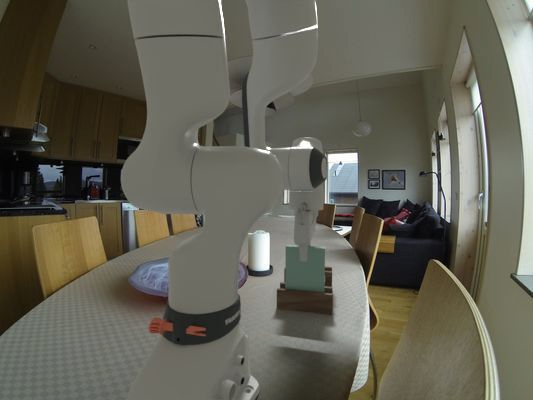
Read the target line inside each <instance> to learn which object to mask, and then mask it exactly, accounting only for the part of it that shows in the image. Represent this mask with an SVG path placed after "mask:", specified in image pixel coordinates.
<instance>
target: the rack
mask: <svg viewBox="0 0 533 400" xmlns="http://www.w3.org/2000/svg"><path fill="white" fill-rule="evenodd" d="M283 273H284V275H283V281H281V282H279V287H277V288H276V310H284V311H291V312H292V311H293V312H301V313H307V314H308V313H310V314H317V315H326V316H333V305H334V303H333V300H334V297H333V296H334V293H333V267H332V266H326V265H325V286H324V293H322V292H312V291H302V290H292V289H285V267H284V269H283Z"/></svg>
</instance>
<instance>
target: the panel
mask: <svg viewBox="0 0 533 400" xmlns="http://www.w3.org/2000/svg"><path fill="white" fill-rule="evenodd" d="M307 253H308V259H307V261H300V253H299V245H295V244H286V245H285V267H284V268H285V289H292V290H302V291H312V292H322V293H324V286H325V266H326V246H314V245H313V246H312V245H310V246H308V252H307Z"/></svg>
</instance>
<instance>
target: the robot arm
mask: <svg viewBox="0 0 533 400" xmlns="http://www.w3.org/2000/svg"><path fill="white" fill-rule="evenodd" d="M126 1H127V9H128V13H129V21H130V25H131V31H132V35H133V40H134V43H135V48H136V52H137V57H138V62H139V66H140V70H141V71H140V72H141V76H142V77H141V78H142V82H143V83H142V84H143V88H144V94H145V95H144V96H145V101H146V122H145V123H146V124H145V129H144V132H143V136H142V139H141V141H140V143H139V145H138V146H137V147H136V149H134V151H133V152H132V153H131V154H130V155H129V156H128V157H127V158H126V160H125V161H124V164H123V166H122V170H121V173H120V184H121V189H122V192H123V194H124V196H125V198H126V200H127V201H128V202H129V203H130V205H132V206H133V207H134V208H137V209H140V210H145V211H149V212H151V213H152V212H153V213H158V214H161V215H162V214H163V215H201V216H203V217H204V219H203V225H202V228H201V231H200V232H199V233H196V234H194V235H191V236H190V237H188V238H187V239H184V240H183V241H181V242H180V243H178V244H177V245H176V246H175V247H174V248H173V250H172V251H171V253H170V255H169V257H168V268H167V269H168V271H167V272H168V274H167V275H168V278H167V279H168V283H167V284H168V286H167V287H168V299H167V301H166V304H165V307H164V310H163V314H162V318H159V317H154V318H152V319H151V321H150V323H149V325H148V332H149V333H150V334H159V336H158V339H157V340H156V342H155V344H154V346H152V349H151V351H150V353H149V355H148V356H147V358H146V360H145V362H144V363H143V364H142V366H141V369H140V371H139V372H138V374H137V376H136V378H135V379H134V381H133V383H132V384H131V387H130V389H129V391H128V394H127V398H126V400H256V398H257V396H259V393H260V384H259V382H258V380H257V379H256V378H255V377H254V376H253V375H252V374H251V353H250V340H249V336H248V335H247V333H246V332H245V330H244V328H243V327H242V325H241V322H240V321H241V317H242V315H241V313H242V302H241V295H240V294H239V271H240V260H241V259H240V258H241V253H242V249H243V245H244V244H245V239H246V238H247V236H248V234H249V232H250V231H251V230H252V228H253V227H254V226H255V224H256V223H257V222H259V220H260V219H261V218H262V217H264V216H265V215H266V214H267V213H269V212H270V211H272V209H273V208H275V207H276V205H277V204H278V202H279V201H280V198H281V197H282V194H283V192H284V191H289V192H288V209H289V210H293V216H294V222H293V223H294V225H293V226H294V227H293V243H294V245H299V253H300V261H307V259H308V253H307V252H308V246H312V239H313V237H314V235H315V231H316V226H317V225H316V224H317V220H318V219H317V217H318V216H319V211H323V210H324V202H325V200H324V197H325V196H324V195H325V193H324V191H325V190H324V186H323V183H324V182H326V180H327V179H328V158H327V156H326V155H325V154H324V150H323V144H322V141H321V140H319V139H318V138H315V137H312V136H303V137H297V138H296V139H294V140H293V141H292V145H291V147H277V148H276V147H274V148H272V147H270V146H267V144H266V117H265V116H266V109H267V106H268V105H269V104H271V103H272V102H273V101H275V100H277V99H279V98H281V97H282V96H284V95H286V94H287V93H289V92H291V91H293V90H294V89H296V88H297V87H299V86H300V85H301V84H302V83H304V82H305V81H306V79H308V78H309V76H310V75H311V73H312V72H313V70H314V68H315V66H316V64H317V60H318V53H319V49H318V48H319V32H318V30H319V29H318V15H317V14H318V13H317V4H316V0H244V2H245V4H246V6H247V16H248V22H249V30H250V36H251V43H252V61H251V67H250V69H249V71H248V72H247V73H245V75H244V77H243V79H242V84H241V85H242V86H241V110H242V111H241V113H242V116H241V117H242V130H243V144H244V145H227V146H224V145H221V146H218V145H217V146H213V145H211V146H209V145H208V146H204V145H200V143H199V139H198V138H199V137H198V136H199V129H200V128H202V127H204V126H206V125H207V124H209V123H211V122H212V121H214V120H216V119H217V118H218V117H220V116H221V115H223V113H224V112H225V111H226V109H227V108H228V106H229V103H230V99H231V87H230V77H229V66H228V54H227V43H226V34H225V24H224V16H223V10H222V0H126Z"/></svg>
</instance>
